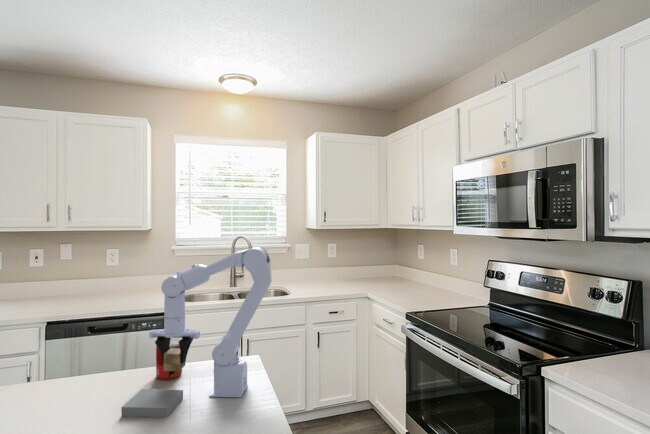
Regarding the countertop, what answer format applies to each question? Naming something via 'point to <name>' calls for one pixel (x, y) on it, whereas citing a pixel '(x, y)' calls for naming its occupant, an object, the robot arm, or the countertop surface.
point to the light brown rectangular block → (172, 360)
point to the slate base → (152, 403)
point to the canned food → (160, 364)
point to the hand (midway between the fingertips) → (174, 362)
